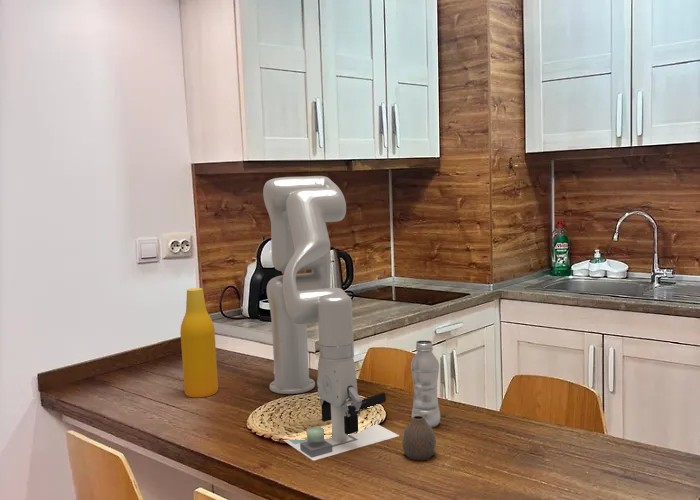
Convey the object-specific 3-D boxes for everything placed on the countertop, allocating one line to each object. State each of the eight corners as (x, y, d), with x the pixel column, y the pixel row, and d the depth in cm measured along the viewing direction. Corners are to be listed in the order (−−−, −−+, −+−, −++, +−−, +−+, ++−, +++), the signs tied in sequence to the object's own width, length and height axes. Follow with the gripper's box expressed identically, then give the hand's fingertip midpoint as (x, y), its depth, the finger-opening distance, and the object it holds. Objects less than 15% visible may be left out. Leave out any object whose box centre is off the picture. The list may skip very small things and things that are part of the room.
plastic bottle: (423, 419, 168) (421, 337, 165) (446, 426, 163) (444, 341, 160) (406, 427, 163) (403, 342, 161) (428, 434, 158) (426, 347, 156)
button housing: (300, 449, 151) (300, 443, 151) (320, 444, 153) (320, 437, 153) (311, 457, 147) (311, 450, 146) (332, 451, 149) (332, 444, 149)
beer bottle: (216, 385, 201) (209, 285, 197) (220, 395, 192) (214, 290, 188) (182, 390, 198) (175, 288, 194) (186, 400, 189) (178, 293, 186)
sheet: (278, 439, 159) (278, 436, 159) (360, 418, 170) (360, 415, 170) (313, 463, 145) (313, 460, 145) (399, 438, 157) (399, 435, 156)
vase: (402, 451, 149) (400, 411, 148) (434, 450, 149) (433, 410, 148) (403, 465, 142) (402, 423, 141) (437, 464, 142) (436, 422, 141)
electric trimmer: (389, 405, 180) (389, 393, 180) (347, 420, 170) (346, 408, 169) (379, 402, 183) (379, 390, 182) (336, 417, 172) (336, 405, 172)
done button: (304, 438, 150) (303, 429, 150) (319, 434, 152) (318, 425, 152) (312, 443, 147) (312, 434, 147) (327, 439, 149) (326, 430, 149)
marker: (328, 438, 157) (327, 393, 155) (343, 434, 159) (341, 390, 157) (337, 443, 153) (335, 398, 152) (351, 439, 155) (350, 394, 154)
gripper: (302, 345, 159) (306, 419, 161) (342, 362, 144) (345, 442, 146) (331, 340, 163) (334, 412, 165) (373, 355, 148) (375, 434, 150)
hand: (339, 426), depth 156 cm, fingers open, 9 cm apart
